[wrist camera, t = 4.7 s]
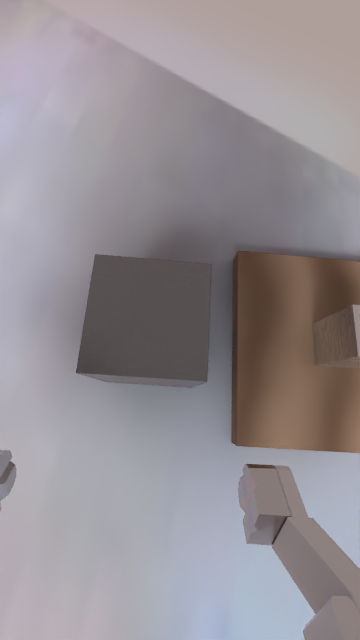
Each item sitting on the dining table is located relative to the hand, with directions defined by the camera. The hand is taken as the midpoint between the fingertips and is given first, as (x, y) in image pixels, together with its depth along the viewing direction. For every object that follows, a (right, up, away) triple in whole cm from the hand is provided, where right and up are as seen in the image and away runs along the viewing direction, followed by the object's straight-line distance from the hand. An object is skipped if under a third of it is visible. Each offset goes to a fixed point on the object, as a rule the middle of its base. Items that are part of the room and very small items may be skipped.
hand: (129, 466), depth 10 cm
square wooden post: (+13, +3, +10) cm, 17 cm away
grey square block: (0, +3, +11) cm, 11 cm away
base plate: (+13, +3, +12) cm, 17 cm away
